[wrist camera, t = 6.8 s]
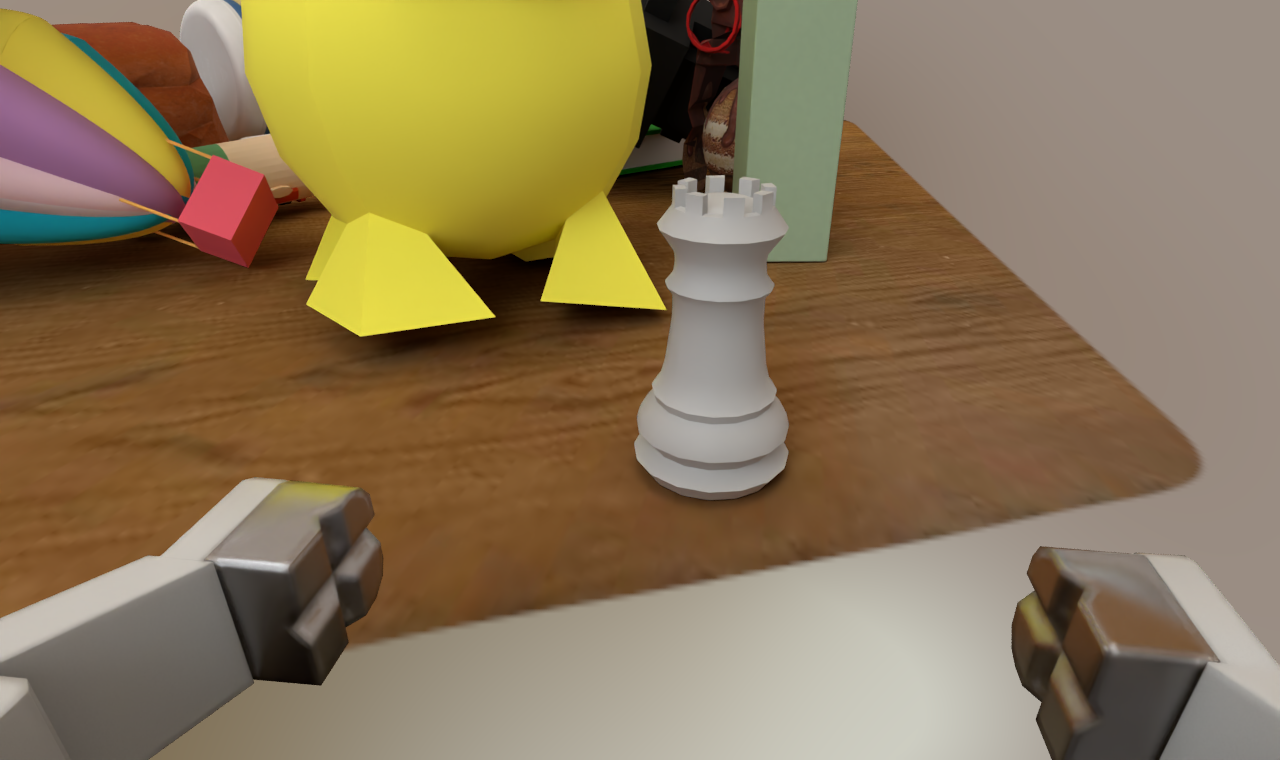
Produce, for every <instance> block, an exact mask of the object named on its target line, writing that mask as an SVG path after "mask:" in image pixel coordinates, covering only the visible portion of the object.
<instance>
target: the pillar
mask: <svg viewBox="0 0 1280 760" xmlns="http://www.w3.org/2000/svg"><path fill="white" fill-rule="evenodd" d="M857 2H858V0H743V12H742V30H741V47H740V65H739V83H738V100H737V118H736V135H735V153H734V171H733V188H732V193H737V194H739V179H740V178H742V177H750V178H756V179H760V187H759V191H761V184H763V183H772V184H774V185H775V186H776V187H777V191H776V203H775V207H776V208H777V210H778V211H779V213H780V214H781V216H782V217H783V219H784V220H785V222H786V223H787V225H788V227H789V228H788V230H787V232H786V234H785V235H784V237H783V238H782V239H781V240H780V241H779V243H778V244H777V245H776V246H775V247H774V248H773V250H772V251H771V252H770V253H769V254H768V258H767V262H821V261H826V260H827V252H828V244H829V236H830V227H831V219H832V211H833V202H834V194H835V186H836V177H837V169H838V161H839V152H840V144H841V136H842V127H843V119H844V110H845V102H846V94H847V86H848V77H849V69H850V61H851V52H852V44H853V35H854V27H855V19H856V10H857Z"/></svg>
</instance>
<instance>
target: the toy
mask: <svg viewBox="0 0 1280 760" xmlns="http://www.w3.org/2000/svg"><path fill="white" fill-rule="evenodd" d="M693 1H694V0H641V4H642V10H643V16H644V22H645V28H646V34H647V40H648V46H649V52H650V58H651V65H652V66H651V72H650V78H649V83H648V89H647V95H646V100H645V106H644V111H643V117H642V123H641V128H640V134H639V140H638V141H637V143H636V145H635V147H636V148H638V149H639V148H640V146H641V144H642V142H643V140H644V138H645V136H646V134H647V132H648V129H649V127H650V125H651V124H652V125H654V126H656V127H659V128H661V132H660V135H661V136H663V137H666V138H668V139H670V140H672V141H675V142H677V143H680V141H681V139H682V138H683V139H685V140H686V138H687V137H688V135H689V133H690V131H691V129H692V128H693V127H692V124H691V120H690V117H689V113H688V107H689V102H690V97H691V91H692V84H693V78H694V71H695V65H696V57H697V47H696V46H694V45H693V44H692V42H691V40H690V38H689V36H688V32H687V27H686V19H687V12H688V10H689V8H690V6H691V3H692V2H693ZM712 11H713V5H712V4H711V3H710V2H709V1H707V0H700V1H699V2H698V3H697V4H696V6H695V8H694V10H693V12H692V15H691V19H690V25H689V28H690V30H691V31H692V32H693V34H694V35H695V36H696V38H697V39H698V41H699V42H700V43H701V42H702V41H703V40H708V39H713V37H712V26H711V19H712ZM740 38H741V35H740V36H739V37H738V39H740ZM737 78H739V68H738V66H737V65H730V66H726V69H725V72H724V74H723V77H722V80H721V83H720V85H719V88H718V91H717V93H716V96H715V97H714V98H713V99H712V100H711V101H710V102H709V104H708V105H707V106H706V109H707V112H709V110H710V108H711V106H712V104H713V103H714V101H715V99H716V98H717V97H718V96H719V94H720V93H721V92H722V91H723V89H724V88H725V87H727V86H728V85H729V84H730V83H732V82H733V81H734V80H736V79H737Z"/></svg>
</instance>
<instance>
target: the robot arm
mask: <svg viewBox="0 0 1280 760" xmlns="http://www.w3.org/2000/svg"><path fill="white" fill-rule="evenodd" d="M374 515H375V514H374V510H373V506H372V502H371V498H370V494H369V493H367V492H366V491H364V490H363V489H362V488H357V487H348V486H338V485H329V484H320V483H311V482H302V481H292V480H290V481H286V480H280V479H269V478H258V477H254V478H250V479H246V480H243V481H242V482H240V483H239V484H238V485H237V486H236V487H235V488H234V489H233V490H232V491H231V492H230V493H228V494H227V495H226V496H225V497H224V498H223V499H222V500H221V501H220V502H219V503H218V504H217V505H215V506H214V507H213V508H212V509H211V510H210V511H209V512H208V513H207V514H206V515H205V516H204V517H202V518H201V519H200V520H199V521H198V522H197V523H196V524H195V525H194V526H193V527H192V528H191V529H189V530H188V531H187V532H186V533H185V534H184V535H183V536H182V537H181V538H180V539H179V540H177V541H176V542H175V543H174V544H173V545H172V546H171V547H170V548H169V549H168V550H167V551H166V552H164V553H163V554H162V555H161V556H160V557H158V556H146V557H144V558H141V559H139V560H137V561H134V562H132V563H129V564H127V565H125V566H122V567H120V568H118V569H115V570H113V571H111V572H108V573H106V574H103V575H101V576H99V577H96V578H94V579H92V580H89V581H87V582H85V583H82V584H80V585H78V586H75V587H73V588H70V589H68V590H66V591H63V592H61V593H59V594H56V595H54V596H52V597H49V598H47V599H45V600H42V601H40V602H37V603H35V604H33V605H30V606H28V607H26V608H23V609H21V610H19V611H16V612H14V613H11V614H9V615H7V616H4V617H2V618H0V760H148V759H150V758H151V757H153V756H154V755H155V754H157V753H158V752H160V751H161V750H162V749H164V748H165V747H166V746H168V745H169V744H171V743H172V742H173V741H175V740H176V739H178V738H179V737H180V736H182V735H183V734H185V733H186V732H187V731H189V730H190V729H192V728H193V727H194V726H196V725H197V724H198V723H200V722H201V721H203V720H204V719H205V718H207V717H208V716H209V715H211V714H212V713H214V712H215V711H216V710H218V709H219V708H220V707H222V706H223V705H224V704H226V703H227V702H229V701H230V700H232V699H233V698H234V697H236V696H237V695H238V694H240V693H241V692H242V691H244V690H245V689H247V688H248V687H250V686H251V685H252V684H253V683H254V681H253V679H254V680H265V681H277V682H287V683H298V684H311V685H322V683H323V681H324V680H325V679H326V677H327V675H328V674H329V672H330V671H331V669H332V668H333V666H334V665H335V663H336V661H337V660H338V658H339V657H340V655H341V654H342V652H343V651H344V649H345V647H346V646H347V644H348V643H349V642H348V637H347V632H346V627H347V626H349V625H351V624H352V623H354V622H356V621H357V620H359V619H361V618H362V617H364V616H365V615H366V614H367V613H368V611H369V609H370V608H371V606H372V604H373V603H374V601H375V599H376V597H377V594H378V590H379V587H380V584H381V580H382V577H383V554H382V549H381V543H380V542H379V541H378V540H377V539H376V537H375V536H374V535H373V534H372V533H371V532H370V531H369V530H368V529H367V528H366V527H367V526H368V524H369V523H370V521H371V520H372V518H373V517H374ZM1027 575H1028V577H1029V579H1030V581H1031V583H1032V585H1033V588H1034V589H1035V591H1033V592H1032V593H1031V594H1029V595H1028V596H1026V597H1025V598H1024V599H1022V600H1021V601H1019V602H1018V603H1017V607H1016V611H1015V615H1014V619H1013V622H1012V653H1013V658H1014V663H1015V667H1016V670H1017V673H1018V675H1019V678H1020V681H1021V683H1022V686H1023V687H1025V688H1026V689H1027V690H1028V691H1029V692H1030V693H1031V694H1033V695H1034V696H1035V697H1036V698H1037V699H1038V700H1040V701H1041V702H1042V703H1041V706H1040V709H1039V712H1038V714H1037V717H1036V722H1037V724H1038V726H1039V729H1040V731H1041V734H1042V736H1043V739H1044V741H1045V744H1046V746H1047V749H1048V751H1049V754H1050V756H1051V759H1052V760H1280V666H1279V664H1278V663H1277V662H1276V661H1275V659H1274V658H1273V657H1272V656H1271V655H1270V653H1269V652H1268V651H1267V650H1266V648H1265V647H1264V646H1263V645H1262V643H1261V642H1260V641H1259V640H1258V638H1257V637H1256V636H1255V634H1254V633H1253V632H1252V631H1251V630H1250V628H1249V627H1248V626H1247V625H1246V623H1245V622H1244V621H1243V620H1242V618H1241V617H1240V616H1239V615H1238V613H1237V612H1236V611H1235V610H1234V608H1233V607H1232V606H1231V605H1230V603H1229V602H1228V601H1227V600H1226V598H1225V597H1224V596H1223V595H1222V593H1221V592H1220V591H1219V590H1218V588H1217V587H1216V586H1215V585H1214V583H1213V582H1212V581H1211V580H1210V578H1209V577H1208V576H1207V575H1206V573H1205V572H1204V571H1203V570H1202V569H1201V567H1200V566H1199V565H1198V564H1197V563H1196V562H1195V561H1193V560H1191V559H1189V558H1188V557H1186V556H1182V555H1166V554H1150V553H1134V554H1128V553H1116V552H1102V551H1090V550H1079V549H1066V548H1053V547H1041V546H1040V547H1039V549H1038V550H1037V551H1036V553H1035V554H1034V555H1033V557H1032V560H1031V563H1030V565H1029V569H1028V571H1027Z"/></svg>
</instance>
